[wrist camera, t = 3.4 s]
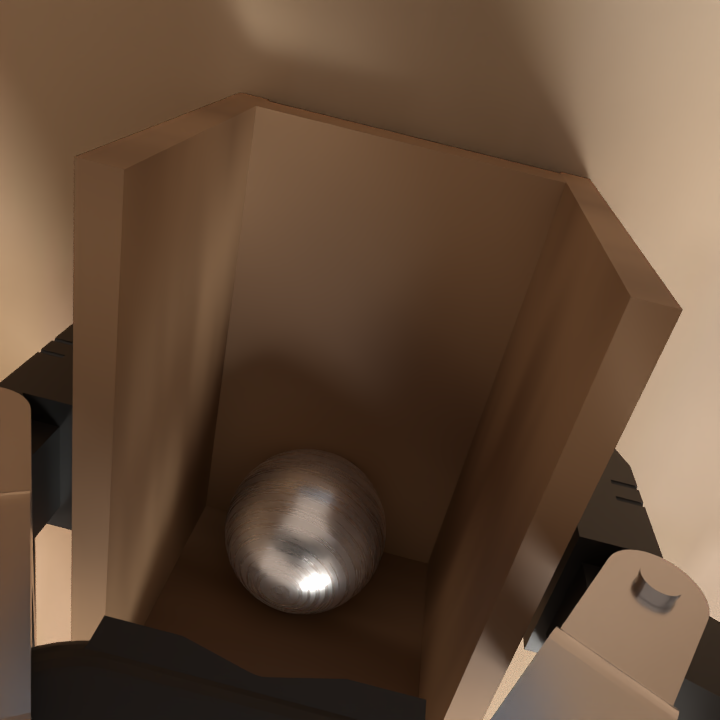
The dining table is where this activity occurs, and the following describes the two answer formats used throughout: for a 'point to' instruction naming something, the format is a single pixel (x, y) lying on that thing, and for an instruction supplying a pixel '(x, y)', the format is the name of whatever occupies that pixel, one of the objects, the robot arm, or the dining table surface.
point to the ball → (305, 531)
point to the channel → (345, 382)
